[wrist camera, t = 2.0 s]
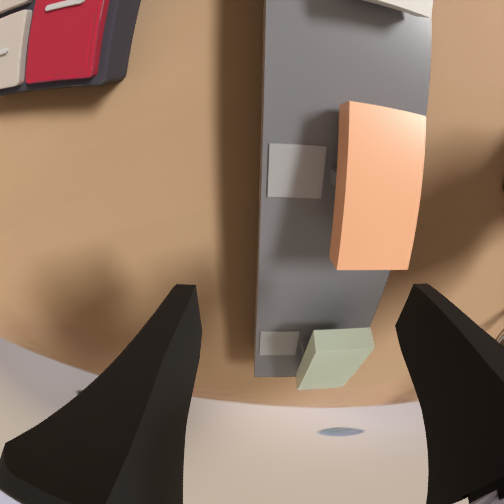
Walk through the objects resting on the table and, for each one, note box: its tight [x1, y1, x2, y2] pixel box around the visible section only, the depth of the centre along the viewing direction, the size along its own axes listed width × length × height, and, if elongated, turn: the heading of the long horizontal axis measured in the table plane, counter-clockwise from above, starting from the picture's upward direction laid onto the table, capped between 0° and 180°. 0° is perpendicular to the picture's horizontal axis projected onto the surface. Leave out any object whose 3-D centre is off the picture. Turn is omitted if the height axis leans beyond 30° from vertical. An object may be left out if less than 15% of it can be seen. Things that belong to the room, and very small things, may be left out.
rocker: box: [296, 327, 375, 390], centre depth 18 cm, size 4×7×1 cm, turn 179°
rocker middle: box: [329, 101, 426, 270], centre depth 12 cm, size 4×7×1 cm, turn 179°
